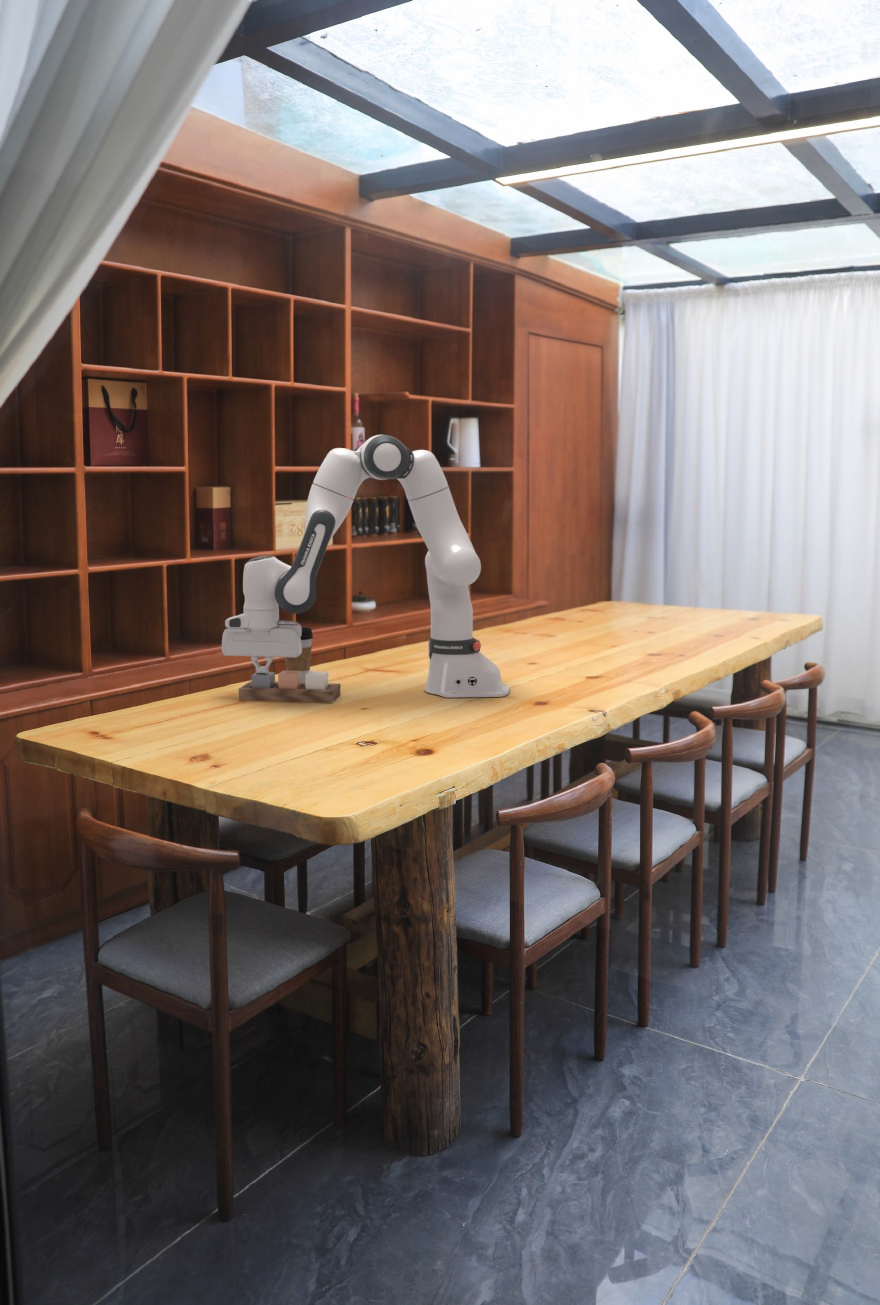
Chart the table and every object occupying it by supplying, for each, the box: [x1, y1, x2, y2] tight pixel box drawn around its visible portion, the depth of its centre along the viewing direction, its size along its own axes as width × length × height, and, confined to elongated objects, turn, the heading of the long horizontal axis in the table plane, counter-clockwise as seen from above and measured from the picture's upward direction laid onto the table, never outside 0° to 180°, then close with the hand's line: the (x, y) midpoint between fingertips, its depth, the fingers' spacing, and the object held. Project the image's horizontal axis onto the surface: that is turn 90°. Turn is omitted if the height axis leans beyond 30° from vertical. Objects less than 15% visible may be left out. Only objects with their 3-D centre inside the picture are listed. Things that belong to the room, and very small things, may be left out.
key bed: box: [238, 680, 341, 704], centre depth 260 cm, size 24×10×3 cm, turn 84°
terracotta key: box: [277, 669, 302, 689], centre depth 260 cm, size 5×5×4 cm
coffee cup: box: [284, 627, 314, 683], centre depth 279 cm, size 8×8×15 cm
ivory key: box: [305, 670, 329, 690], centre depth 259 cm, size 5×5×4 cm
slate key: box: [250, 671, 276, 688], centre depth 261 cm, size 5×5×4 cm
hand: (262, 673), depth 260 cm, fingers closed, pressing on slate key
